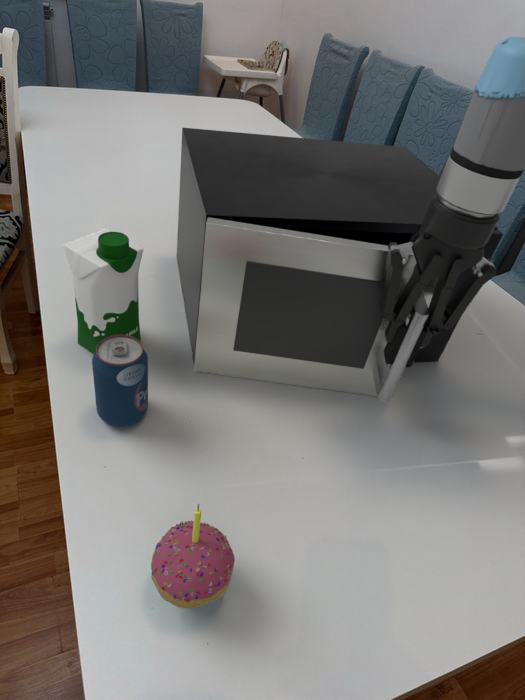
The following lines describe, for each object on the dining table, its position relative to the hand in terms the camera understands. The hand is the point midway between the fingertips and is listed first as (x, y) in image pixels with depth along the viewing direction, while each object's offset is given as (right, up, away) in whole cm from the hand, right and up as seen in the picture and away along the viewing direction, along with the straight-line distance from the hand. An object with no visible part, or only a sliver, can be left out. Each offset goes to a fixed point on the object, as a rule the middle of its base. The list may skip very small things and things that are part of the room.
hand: (396, 359), depth 70 cm
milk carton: (-44, +2, +11) cm, 45 cm away
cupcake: (-27, -24, -16) cm, 39 cm away
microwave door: (-14, -6, +8) cm, 17 cm away
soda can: (-39, -8, 0) cm, 39 cm away
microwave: (-12, +10, +26) cm, 31 cm away
